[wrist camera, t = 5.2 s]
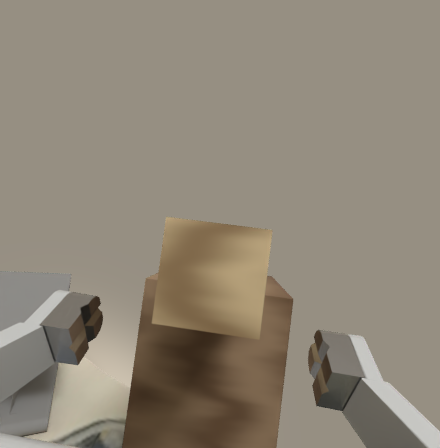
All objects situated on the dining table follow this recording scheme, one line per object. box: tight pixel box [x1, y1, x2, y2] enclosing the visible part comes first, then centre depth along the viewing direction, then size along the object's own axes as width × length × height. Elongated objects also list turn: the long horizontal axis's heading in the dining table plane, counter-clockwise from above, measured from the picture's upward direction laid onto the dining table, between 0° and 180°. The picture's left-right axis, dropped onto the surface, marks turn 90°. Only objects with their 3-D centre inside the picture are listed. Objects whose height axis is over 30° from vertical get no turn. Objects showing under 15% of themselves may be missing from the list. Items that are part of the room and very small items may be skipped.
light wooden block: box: [152, 217, 272, 340], centre depth 20 cm, size 4×20×4 cm, turn 177°
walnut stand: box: [122, 273, 293, 448], centre depth 22 cm, size 10×10×26 cm
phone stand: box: [0, 271, 71, 436], centre depth 42 cm, size 18×10×20 cm, turn 28°
